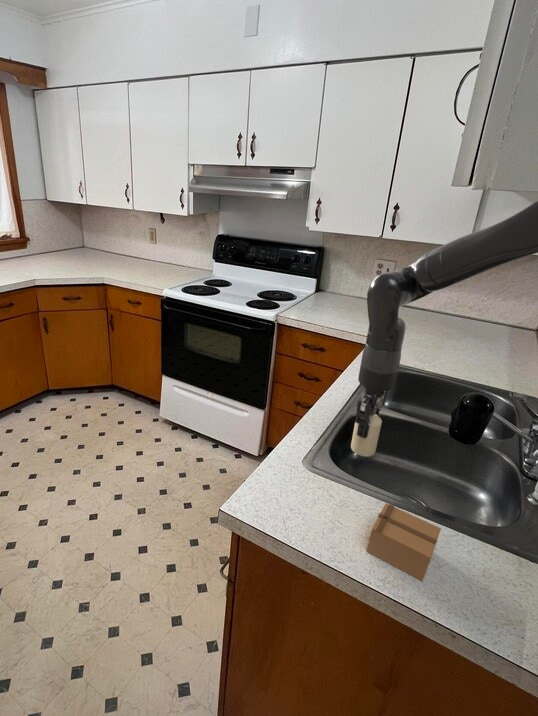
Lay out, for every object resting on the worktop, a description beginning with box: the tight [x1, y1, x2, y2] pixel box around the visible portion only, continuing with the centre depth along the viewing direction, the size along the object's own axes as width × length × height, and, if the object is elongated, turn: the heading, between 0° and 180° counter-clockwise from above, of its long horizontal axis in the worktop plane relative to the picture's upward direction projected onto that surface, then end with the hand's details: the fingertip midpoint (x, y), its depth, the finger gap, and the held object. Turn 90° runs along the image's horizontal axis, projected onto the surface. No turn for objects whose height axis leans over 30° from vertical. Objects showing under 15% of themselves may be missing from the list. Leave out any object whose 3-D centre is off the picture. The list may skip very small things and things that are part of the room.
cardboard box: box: [366, 502, 442, 582], centre depth 79 cm, size 10×8×6 cm
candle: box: [350, 414, 383, 458], centre depth 97 cm, size 6×6×10 cm
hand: (366, 429), depth 97 cm, fingers closed on candle, 5 cm apart
